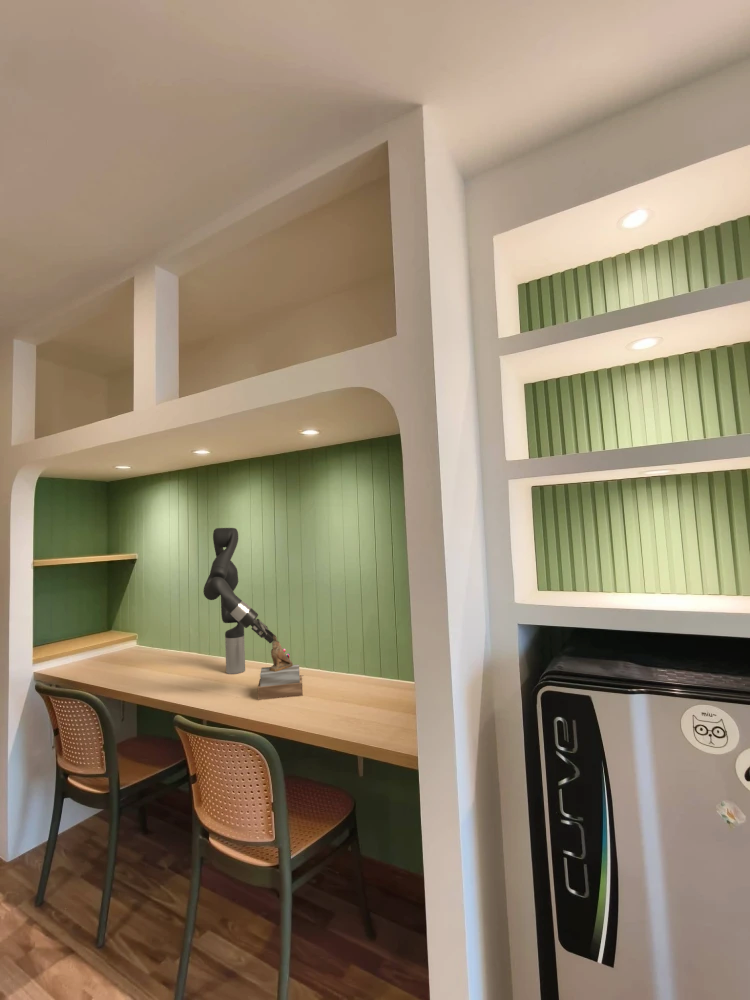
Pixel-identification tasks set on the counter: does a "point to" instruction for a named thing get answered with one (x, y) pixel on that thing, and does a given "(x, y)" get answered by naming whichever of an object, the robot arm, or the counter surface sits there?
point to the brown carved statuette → (279, 657)
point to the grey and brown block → (280, 683)
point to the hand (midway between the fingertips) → (272, 639)
